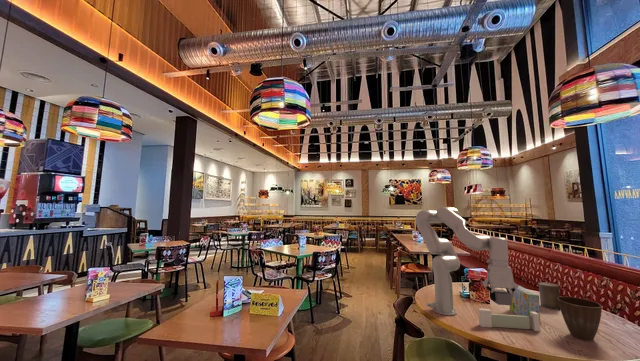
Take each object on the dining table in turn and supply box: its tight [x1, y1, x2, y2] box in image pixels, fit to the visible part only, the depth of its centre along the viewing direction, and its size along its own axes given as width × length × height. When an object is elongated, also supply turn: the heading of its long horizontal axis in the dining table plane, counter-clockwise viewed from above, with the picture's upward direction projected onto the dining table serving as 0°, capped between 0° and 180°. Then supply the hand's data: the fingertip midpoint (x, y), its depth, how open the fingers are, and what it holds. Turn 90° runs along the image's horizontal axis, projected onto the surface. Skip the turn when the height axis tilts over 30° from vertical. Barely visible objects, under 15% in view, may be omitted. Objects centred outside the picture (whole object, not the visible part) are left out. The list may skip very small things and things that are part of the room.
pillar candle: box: [538, 281, 561, 311], centre depth 161 cm, size 10×10×15 cm
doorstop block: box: [489, 288, 512, 306], centre depth 126 cm, size 6×7×5 cm
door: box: [491, 313, 533, 330], centre depth 130 cm, size 18×2×6 cm, turn 82°
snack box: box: [509, 284, 541, 326], centre depth 145 cm, size 21×6×15 cm, turn 168°
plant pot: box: [558, 296, 603, 342], centre depth 122 cm, size 15×15×16 cm
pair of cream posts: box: [477, 308, 541, 332], centre depth 131 cm, size 27×3×8 cm, turn 82°
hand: (500, 300), depth 125 cm, fingers closed on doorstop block, 6 cm apart
